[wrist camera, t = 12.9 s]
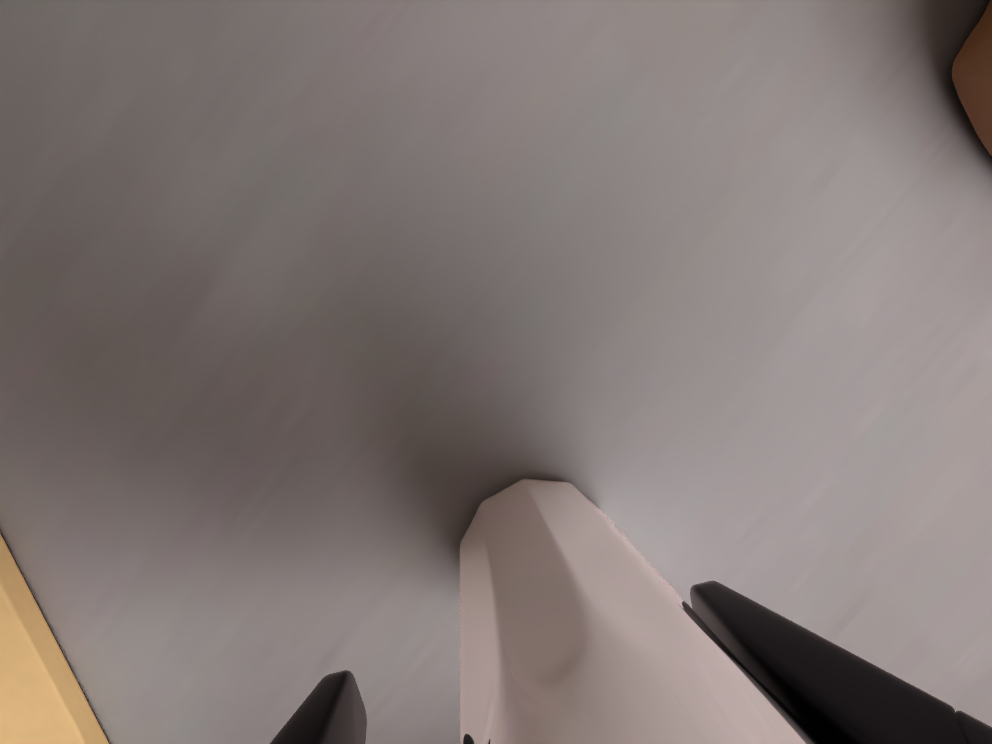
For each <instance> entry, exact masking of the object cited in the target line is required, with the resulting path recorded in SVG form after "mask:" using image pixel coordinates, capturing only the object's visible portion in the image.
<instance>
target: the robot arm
mask: <svg viewBox="0 0 992 744" xmlns="http://www.w3.org/2000/svg"><path fill="white" fill-rule="evenodd" d="M690 595H691V602H692V609H693V611H694V612H695V613H696V614H697V615H698V616H699V617H700V618H701V619H702V620H703V622H704V623H705V624H706V625H707V626H708V627H709V628H710V629H711V630H712V631H713V632H714V634H715V635H716V636H717V637H718V638H719V639H720V640H721V641H722V642H723V643H724V644H725V645H726V647H727V648H728V649H729V650H730V651H731V652H732V653H733V654H734V655H735V656H736V657H737V658H738V659H739V661H740V662H741V663H742V664H743V665H744V666H745V667H746V668H747V669H748V670H749V671H750V672H751V673H752V674H753V675H754V676H755V677H756V678H757V679H758V680H759V681H760V682H761V683H762V684H763V685H764V686H766V687H767V688H768V689H769V690H770V691H771V692H772V693H773V694H774V695H775V696H777V697H778V698H779V699H780V700H781V701H782V702H783V703H784V704H785V705H786V706H787V707H788V708H789V709H790V710H791V711H792V712H793V713H794V714H795V715H796V716H797V717H798V718H799V719H800V720H801V721H802V722H803V723H804V724H805V725H806V726H807V727H808V728H809V729H810V730H811V731H812V732H813V733H814V734H815V736H816V737H817V738H818V739H819V740H820V741H821V742H822V743H823V744H992V727H990V726H988V725H987V724H985V723H983V722H981V721H979V720H977V719H975V718H973V717H971V716H970V715H968V714H966V713H964V712H962V711H956V713H955V710H954V709H953V707H952V706H950V705H948V704H947V703H945V702H943V701H941V700H939V699H937V698H935V697H933V696H931V695H930V694H928V693H926V692H924V691H922V690H920V689H918V688H916V687H914V686H913V685H911V684H909V683H907V682H905V681H903V680H901V679H899V678H898V677H896V676H894V675H892V674H890V673H888V672H886V671H884V670H882V669H881V668H879V667H877V666H875V665H873V664H871V663H869V662H867V661H865V660H864V659H862V658H860V657H858V656H856V655H854V654H852V653H850V652H848V651H847V650H845V649H843V648H841V647H839V646H837V645H835V644H833V643H832V642H830V641H828V640H826V639H824V638H822V637H820V636H818V635H816V634H815V633H813V632H811V631H809V630H807V629H805V628H803V627H801V626H799V625H798V624H796V623H794V622H792V621H790V620H788V619H786V618H784V617H782V616H781V615H779V614H777V613H775V612H773V611H771V610H769V609H767V608H766V607H764V606H762V605H760V604H758V603H756V602H754V601H752V600H750V599H749V598H747V597H745V596H743V595H741V594H739V593H737V592H735V591H733V590H732V589H730V588H728V587H726V586H724V585H722V584H720V583H718V582H716V581H708V582H704V583H700V584H696V585H693V586H692V587H691V591H690ZM366 727H367V719H366V711H365V707H364V704H363V701H362V698H361V695H360V692H359V690H358V687H357V684H356V681H355V678H354V676H353V674H352V673H351V672H350V671H347V670H345V671H341V672H337V673H333V674H329V675H327V676H325V677H324V678H323V679H322V680H321V681H320V682H319V684H318V685H317V686H316V687H315V689H314V690H313V691H312V692H311V694H310V695H309V696H308V697H307V698H306V700H305V701H304V702H303V703H302V705H301V706H300V707H299V708H298V710H297V711H296V712H295V713H294V714H293V716H292V717H291V718H290V719H289V721H288V722H287V723H286V724H285V726H284V727H283V728H282V729H281V731H280V732H279V733H278V734H277V735H276V737H275V738H274V739H273V740H272V742H271V743H270V744H365V742H366Z"/></svg>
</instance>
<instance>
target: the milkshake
mask: <svg viewBox="0 0 992 744" xmlns="http://www.w3.org/2000/svg"><path fill="white" fill-rule="evenodd" d="M460 744H823V743H822V742H821V741H820V740H819V739H818V738H817V737H816V736H815V734H814V733H813V732H812V731H811V730H810V729H809V728H808V727H807V726H806V725H805V724H804V723H803V722H802V721H801V720H800V719H799V718H798V717H797V716H796V715H795V714H794V713H793V712H792V711H791V710H790V709H789V708H788V707H787V706H786V705H785V704H784V703H783V702H782V701H781V700H780V699H779V698H778V697H777V696H775V695H774V694H773V693H772V692H771V691H770V690H769V689H768V688H767V687H766V686H764V685H763V684H762V683H761V682H760V681H759V680H758V679H757V678H756V677H755V676H754V675H753V674H752V673H751V672H750V671H749V670H748V669H747V668H746V667H745V666H744V665H743V664H742V663H741V662H740V661H739V659H738V658H737V657H736V656H735V655H734V654H733V653H732V652H731V651H730V650H729V649H728V648H727V647H726V645H725V644H724V643H723V642H722V641H721V640H720V639H719V638H718V637H717V636H716V635H715V634H714V632H713V631H712V630H711V629H710V628H709V627H708V626H707V625H706V624H705V623H704V622H703V620H702V619H701V618H700V617H699V616H698V615H697V614H696V613H695V612H694V611H693V610H692V608H691V607H690V606H689V605H688V604H687V603H686V602H685V601H684V600H683V599H682V598H681V596H680V595H679V594H678V593H677V592H676V591H675V590H674V589H673V588H672V587H671V586H670V584H669V583H668V582H667V581H666V580H665V579H664V578H663V577H662V576H661V575H660V574H659V572H658V571H657V570H656V569H655V568H654V567H653V566H652V565H651V564H650V563H649V562H648V560H647V559H646V558H645V557H644V556H643V555H642V554H641V553H640V552H639V551H638V550H637V548H636V547H635V546H634V545H633V544H632V543H631V542H630V541H629V540H628V539H627V538H626V536H625V535H624V534H623V533H622V532H621V531H620V530H619V529H618V528H617V527H616V525H615V524H614V523H613V522H612V521H611V520H610V519H609V518H608V517H607V516H606V515H605V514H604V513H603V512H602V511H601V510H600V509H599V508H598V507H597V506H596V505H594V504H593V503H592V502H591V501H590V500H589V499H588V498H587V497H585V496H584V495H583V494H582V493H581V492H580V491H579V490H578V489H577V488H576V487H574V486H573V485H572V484H571V483H570V482H559V481H545V480H532V479H522V480H520V481H518V482H517V483H515V484H513V485H511V486H510V487H508V488H506V489H504V490H502V491H501V492H499V493H497V494H495V495H493V496H492V497H490V498H488V499H486V500H484V501H482V502H481V504H480V506H479V508H478V510H477V512H476V514H475V516H474V518H473V520H472V522H471V524H470V526H469V528H468V530H467V532H466V533H465V535H464V537H463V539H462V541H461V544H460Z"/></svg>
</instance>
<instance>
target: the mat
mask: <svg viewBox="0 0 992 744" xmlns="http://www.w3.org/2000/svg"><path fill="white" fill-rule="evenodd" d="M0 744H109V742H108V740H107V738H106V736H105V734H104V732H103V731H102V729H101V727H100V725H99V723H98V721H97V719H96V717H95V715H94V713H93V711H92V709H91V707H90V705H89V703H88V702H87V700H86V698H85V696H84V694H83V692H82V690H81V688H80V686H79V684H78V682H77V680H76V678H75V676H74V675H73V673H72V671H71V669H70V667H69V665H68V663H67V661H66V659H65V657H64V655H63V653H62V651H61V649H60V648H59V646H58V644H57V642H56V640H55V638H54V636H53V634H52V632H51V630H50V628H49V626H48V624H47V622H46V620H45V619H44V617H43V615H42V613H41V611H40V609H39V607H38V605H37V603H36V601H35V599H34V597H33V595H32V593H31V592H30V590H29V588H28V586H27V584H26V582H25V580H24V578H23V576H22V574H21V572H20V570H19V568H18V566H17V564H16V563H15V561H14V559H13V557H12V555H11V553H10V551H9V549H8V547H7V545H6V543H5V541H4V539H3V537H2V536H1V534H0Z"/></svg>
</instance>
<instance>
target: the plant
mask: <svg viewBox="0 0 992 744" xmlns="http://www.w3.org/2000/svg"><path fill="white" fill-rule="evenodd" d="M952 80H953V83H954V85H955V88H956V91H957V94H958V96H959V99H960V101H961V103H962V105H963V107H964V109H965V111H966V113H967V115H968V117H969V119H970V121H971V123H972V125H973V127H974V129H975V132H976V134H977V136H978V137H979V139H980V140H981V142H982V143H983V145H984V146H985V148H986V149H987V151H988V152H989V154H990V155H991V157H992V0H990V2H989V4H988V6H987V8H986V10H985V12H984V14H983V16H982V17H981V19H980V20H979V22H978V23H977V25H976V26H975V28H974V29H973V31H972V32H971V34H970V35H969V37H968V38H967V40H966V41H965V43H964V45H963V46H962V48H961V50H960V51H959V53H958V55H957V56H956V58H955V60H954V63H953V67H952Z"/></svg>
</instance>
